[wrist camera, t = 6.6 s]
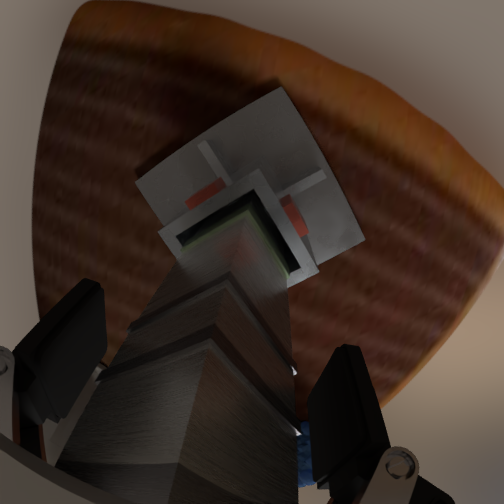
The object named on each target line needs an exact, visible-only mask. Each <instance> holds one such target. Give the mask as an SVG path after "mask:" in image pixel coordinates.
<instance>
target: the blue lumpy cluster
mask: <svg viewBox="0 0 504 504" xmlns="http://www.w3.org/2000/svg"><path fill="white" fill-rule="evenodd" d="M297 460H298V487H305V486H306V485H313V484H315V483H316V482H314V481H313V477H312V461H311V446H310V432H309V422H307V421H304V422H301V435H298V436H297Z"/></svg>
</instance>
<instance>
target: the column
mask: <svg viewBox="0 0 504 504" xmlns="http://www.w3.org/2000/svg"><path fill="white" fill-rule="evenodd" d="M180 251H181V252H182V254H181V255H180V257H179V258H178V260H177V261H176V263H175V264H174V265H173V267H172V268H171V270H170V271H169V273H168V274H167V276H166V277H165V279H164V280H163V282H162V283H161V285H160V286H159V288H158V289H157V291H156V292H155V294H154V295H153V297H152V298H151V300H150V301H149V303H148V304H147V306H146V307H145V309H144V311H143V312H142V314H141V315H140V317H139V318H138V319H137V320H135V321H133V322H131V324H130V326H129V327H128V329H127V330H126V332H127V333H128V336H127V337H126V339H125V341H124V342H123V344H122V345H121V347H120V349H119V350H118V352H117V354H116V355H115V357H114V359H113V360H112V362H111V364H110V365H109V367H108V368H107V369H104V370H102V371H101V372H100V373H99V375H98V377H97V378H96V380H95V382H94V383H95V384H96V385H98V386H97V387H96V389H95V391H94V393H93V394H92V396H91V398H90V400H89V402H88V403H87V405H86V407H85V409H84V411H83V412H82V414H81V416H80V418H79V420H78V422H77V423H76V425H75V427H74V429H73V431H72V433H71V435H70V437H69V438H68V440H67V442H66V444H65V446H64V448H63V450H62V452H61V454H60V456H59V458H58V460H57V462H56V464H55V466H54V467H55V468H57V469H59V470H61V471H63V472H65V473H67V474H69V475H71V476H73V477H75V478H77V479H79V480H81V481H83V482H85V483H87V484H89V485H92V486H94V487H96V488H98V489H101V490H103V491H106V492H108V493H111V494H113V495H116V496H118V497H121V498H124V499H126V500H129V501H132V502H135V503H138V504H298V460H297V436H298V435H301V421H300V420H299V419H298V418H297V417H296V409H295V390H294V375H296V374H298V373H297V363H296V362H295V361H294V359H293V356H292V341H291V327H290V314H289V301H288V289H287V279H288V278H290V271H289V265H288V264H287V262H286V260H285V255H284V245H283V239H282V238H281V236H280V234H279V233H278V231H277V229H276V228H275V226H274V224H273V223H272V221H271V219H270V218H269V216H268V214H267V213H266V211H265V210H264V208H263V206H262V205H261V203H260V201H259V200H258V198H257V197H256V195H255V193H254V192H252V193H251V194H249V195H247V196H246V197H244V198H242V199H240V200H239V201H237V202H235V203H234V204H232V205H230V206H229V207H227V208H225V209H224V210H222V211H220V212H219V213H217V214H215V215H214V216H212V217H210V218H209V219H207V220H205V222H204V223H203V224H202V226H201V227H200V228H199V230H198V231H197V233H196V234H195V235H194V237H192V238H190V239H189V240H187V241H186V242H185V244H184V245H183V246H182V248H181V249H180Z"/></svg>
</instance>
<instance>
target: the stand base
mask: <svg viewBox="0 0 504 504" xmlns="http://www.w3.org/2000/svg"><path fill="white" fill-rule="evenodd" d="M135 183H136V185H137V187H138V188H139V190H140V191H141V193H142V194H143V196H144V197H145V199H146V200H147V202H148V203H149V205H150V206H151V208H152V209H153V211H154V212H155V214H156V215H157V217H158V218H159V220H160V221H161V223H162V224H163V225H164V226H163V227H162V228H161V229H160V230H159V231H158V233H159V235H160V236H161V237H162V239H163V240H164V242H165V243H166V245H167V246H168V247H169V249H170V250H171V252H172V253H173V254H174V256H175V257H176V259H177V260H178V258H179V257H180V255H181V254H182V252H181V251H180V249H181V248H182V246H183V245H184V244H185V242H186V241H187V240H189V239H190V238H192V237H194V235H195V234H196V233H197V231H198V230H199V228H200V227H201V226H202V224H203V223H204V222H205V220H207V219H209V218H210V217H212V216H214V215H215V214H217V213H219V212H220V211H222V210H224V209H225V208H227V207H229V206H230V205H232V204H234V203H235V202H237V201H239V200H240V199H242V198H244V197H246V196H247V195H249V194H251V193H252V192H254V193H255V195H256V197H257V198H258V200H259V201H260V203H261V205H262V206H263V208H264V210H265V211H266V213H267V214H268V216H269V218H270V219H271V221H272V223H273V224H274V226H275V228H276V229H277V231H278V233H279V234H280V236H281V238H282V239H283V245H284V255H285V260H286V262H287V264H288V265H289V271H290V278H288V279H287V288H288V287H290V286H292V285H294V284H296V283H298V282H301V281H303V280H304V279H306V278H308V277H310V276H312V275H314V274H316V273H318V272H319V270H318V267H317V265H318V264H320V263H322V262H324V261H326V260H328V259H330V258H332V257H334V256H336V255H338V254H340V253H341V252H343V251H345V250H347V249H349V248H351V247H353V246H355V245H357V244H358V243H360V242H362V241H364V240H365V238H364V236H363V234H362V232H361V229H360V227H359V225H358V223H357V221H356V219H355V216H354V214H353V212H352V210H351V208H350V206H349V204H348V202H347V200H346V198H345V196H344V194H343V192H342V190H341V188H340V186H339V184H338V182H337V180H336V178H335V176H334V174H333V173H332V171H331V169H330V167H329V165H328V163H327V161H326V160H325V158H324V156H323V154H322V152H321V151H320V149H319V147H318V145H317V143H316V142H315V140H314V138H313V136H312V135H311V133H310V131H309V130H308V128H307V126H306V125H305V123H304V121H303V120H302V118H301V116H300V115H299V113H298V111H297V110H296V108H295V107H294V105H293V103H292V102H291V100H290V99H289V97H288V95H287V94H286V92H285V91H284V89H283V88H282V86H281V87H279V88H278V89H276V90H274V91H272V92H270V93H268V94H266V95H265V96H263V97H261V98H259V99H258V100H256V101H254V102H252V103H251V104H249V105H247V106H245V107H244V108H242V109H240V110H239V111H237V112H235V113H234V114H232V115H230V116H229V117H227V118H225V119H224V120H222V121H221V122H219V123H217V124H216V125H214V126H213V127H211V128H210V129H208V130H207V131H205V132H204V133H202V134H201V135H199V136H198V137H196V138H195V139H193V140H192V141H190V142H189V143H187V144H186V145H184V146H183V147H181V148H180V149H179V150H177V151H176V152H174V153H173V154H172V155H170V156H169V157H167V158H166V159H165V160H163V161H162V162H161V163H159V164H158V165H157V166H155V167H154V168H153V169H151V170H150V171H149V172H147V173H146V174H145V175H143V176H142V177H141V178H140V179H138V180H137V181H136V182H135Z"/></svg>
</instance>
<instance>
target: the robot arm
mask: <svg viewBox="0 0 504 504" xmlns="http://www.w3.org/2000/svg"><path fill="white" fill-rule="evenodd" d="M106 350H107V333H106V320H105V302H104V290H103V288H101V286H100V283H98V282H96V281H93V280H90V279H87V278H84V279H82V280H81V281H80V282H79V283H78V284H77V285H76V286H75V287H74V288H73V289H72V290H71V291H70V292H68V293H67V294H66V295H65V296H64V297H63V298H62V299H61V300H60V301H59V302H58V303H57V304H56V305H55V306H54V307H53V308H52V309H51V310H50V311H49V312H48V313H47V314H46V315H45V316H44V317H43V318H42V319H41V320H40V321H39V323H37V325H35V327H34V328H33V329H32V330H31V331H30V332H29V333H28V334H27V335H26V336H25V337H24V338H23V339H22V340H21V342H20V343H19V344H18V345H17V346H16V347H15V349H14V350H13V351H12V352H11V351H10V350H9V349H7V348H5V347H3V346H0V504H138V503H135V502H132V501H129V500H126V499H124V498H121V497H118V496H116V495H113V494H111V493H108V492H106V491H103V490H101V489H98V488H96V487H94V486H92V485H89V484H87V483H85V482H83V481H81V480H79V479H77V478H75V477H73V476H71V475H69V474H67V473H65V472H63V471H61V470H59V469H57V468H55V467H54V466H55V464H56V462H57V460H58V458H59V456H60V454H61V452H62V450H63V448H64V446H65V444H66V442H67V440H68V438H69V437H70V435H71V433H72V431H73V429H74V427H75V425H76V423H77V422H78V420H79V418H80V416H81V414H82V412H83V411H84V409H85V407H86V405H87V403H88V402H89V400H90V398H91V396H92V394H93V393H94V391H95V389H96V387H97V386H98V385H96V384H95V383H94V382H95V380H96V378H97V377H98V375H99V373H100V372H101V371H102V370H104V369H107V368H106V367H105V366H104V365H102V364H100V363H99V362H100V361H101V359H102V358H103V356H104V355H105V353H106ZM307 407H308V419H309V432H310V446H311V461H312V477H313V481H314V482H317V489H329V491H330V497H331V498H330V500H329V501H328V503H327V504H455V502H454V500H453V499H452V497H450V496H449V495H448V494H447V493H445V492H443V491H442V490H440V489H439V488H437V487H436V486H434V485H433V484H431V483H430V482H428V481H427V480H425V479H424V478H422V477H421V476H419V475H418V473H419V463H418V460H417V458H416V456H415V455H414V454H413V453H412V452H411V451H409V450H408V449H406V448H403V447H396V446H395V447H391V445H390V442H389V438H388V434H387V430H386V427H385V423H384V420H383V416H382V413H381V409H380V406H379V403H378V399H377V396H376V393H375V389H374V387H373V386H372V383H371V379H370V376H369V373H368V370H367V367H366V364H365V361H364V358H363V355H362V352H361V349H360V347H359V346H354V345H348V344H343V345H342V346H341V347H337V348H336V349H335V351H334V352H333V354H332V356H331V358H330V360H329V362H328V363H327V365H326V367H325V369H324V370H323V372H322V374H321V376H320V377H319V379H318V381H317V383H316V384H315V386H314V388H313V389H312V391H311V393H310V394H309V397H308V400H307Z"/></svg>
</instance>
